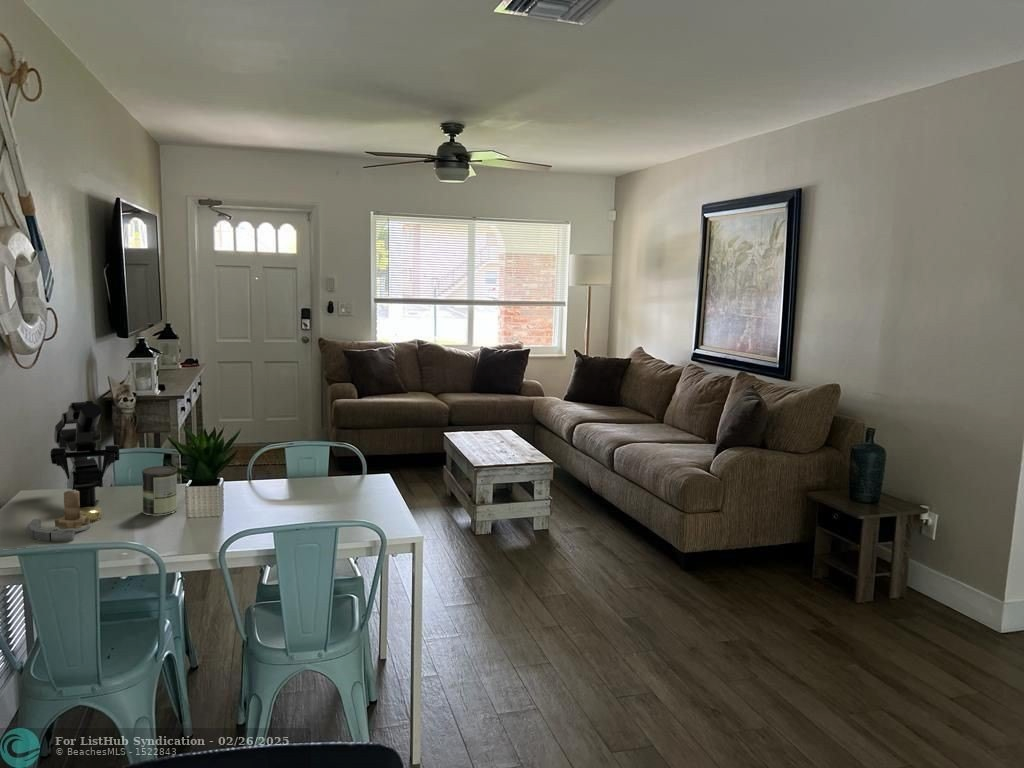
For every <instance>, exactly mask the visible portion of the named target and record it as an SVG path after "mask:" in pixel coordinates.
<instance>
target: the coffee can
mask: <svg viewBox="0 0 1024 768" xmlns="http://www.w3.org/2000/svg"><path fill="white" fill-rule="evenodd" d="M177 472H178V468H177V467H174V466H169V465H158V466H151V467H146V468H144V469H142V471H141V474H142V514H143V513H144V514H146V515H145V516H147V515H153V516H152V517H160V516H159V515H165V516H167V515H166V514H170V513H173V514H175V513H176V512H177V511H178V507H177V506H178V504H177V503H178V502H177V499H178V497H177V496H178V493H177V492H178V491H177V489H178V488H177V487H178V485H177V483H178V481H177V480H178V479H177V478H178V476H177V475H178V473H177ZM175 511H176V512H175ZM174 512H175V513H174ZM144 514H143V515H144ZM170 515H171V514H170Z"/></svg>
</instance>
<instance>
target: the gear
mask: <svg viewBox="0 0 1024 768" xmlns="http://www.w3.org/2000/svg"><path fill="white" fill-rule="evenodd" d="M63 507H64V508H63V509H64V515H63V516H62V517H60V518H59V517H58V518H56V519H55V520H54V527H55V526H59V529H66V528H81V527H82V526H84V525H85V524H89V523H91V522H90V519H89V517H86V516H85V514H80V508H81V507H80V496H79V491H76V490H69V491H64V492H63Z"/></svg>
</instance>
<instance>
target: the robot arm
mask: <svg viewBox="0 0 1024 768" xmlns="http://www.w3.org/2000/svg"><path fill="white" fill-rule="evenodd" d="M101 414H102V407H100V406H99V405H98V404H96V403H94V402H93V400H85V401H76V402H75V401H73V402H71V403H70V404H69V406H68V409H67V411H66V412H63V413H61V419H60V421H59V422H57V424H55V426H54V435H53V436H54V437H53V438H54V443H55V444H56V445H57V447H52V448H51V449H50V461H51V464H53V465H56V466H57V467H60V468H61V469H62V471H64V474H65V477H66V478H67V479H66V480H68V484H69V488H70V489H71V491H79V496H80V508H84V507H96V506H97V505H98V504H99V502H100V499H96V498H97V497H96V496H97V495H96V488H98V487H99V488H100V487H102V485H103V478H104V477H105V475H106V473H107V470H108V468H110V466H111V465H112V464H113V463H114V464H115V463H116V461H119V460H120V446H119V445H118V444H110V445H109V444H107V445H105V447H104V448H105V449H97V442H101V440H102V437H101V436H102V432H101V430H100V429H98V430H97V426H98V424H99V421H100V417H101ZM72 424H75V428H65V426H66V425H72ZM64 428H65V429H64ZM92 457H93V458H92ZM94 457H96V458H97V457H103V459H102V468H100V467H99V464H98V463H97V461H96V459H94ZM89 458H90V459H89ZM68 459H70V462H71V464H72V471H71V472H70V470H69V465H68Z"/></svg>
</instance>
